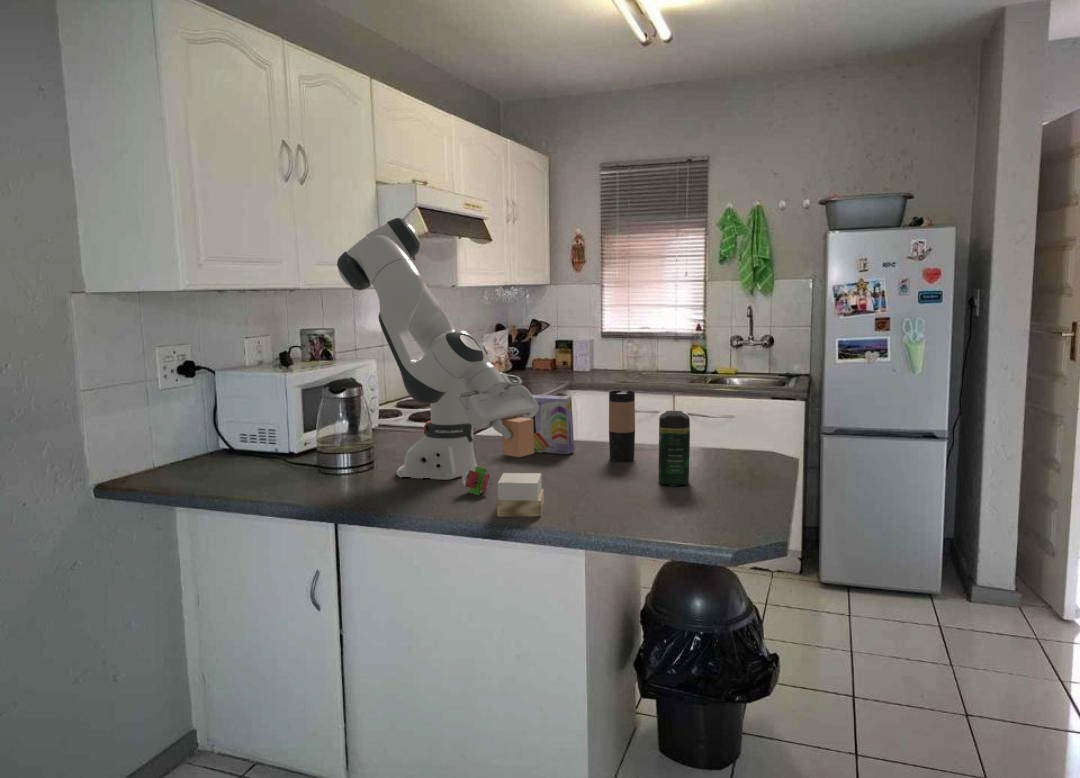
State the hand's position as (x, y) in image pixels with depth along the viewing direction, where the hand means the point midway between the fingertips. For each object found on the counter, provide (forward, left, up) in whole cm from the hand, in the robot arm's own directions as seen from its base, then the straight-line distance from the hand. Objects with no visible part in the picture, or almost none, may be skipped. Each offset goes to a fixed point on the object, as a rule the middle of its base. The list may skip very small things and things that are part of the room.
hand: (520, 435), depth 173 cm
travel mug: (+26, +51, -18) cm, 60 cm away
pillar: (0, 0, -4) cm, 4 cm away
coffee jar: (+38, +25, -18) cm, 49 cm away
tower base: (0, 0, -18) cm, 18 cm away
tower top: (0, 0, -14) cm, 14 cm away
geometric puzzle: (-12, +15, -18) cm, 26 cm away
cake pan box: (+2, +61, -18) cm, 64 cm away
